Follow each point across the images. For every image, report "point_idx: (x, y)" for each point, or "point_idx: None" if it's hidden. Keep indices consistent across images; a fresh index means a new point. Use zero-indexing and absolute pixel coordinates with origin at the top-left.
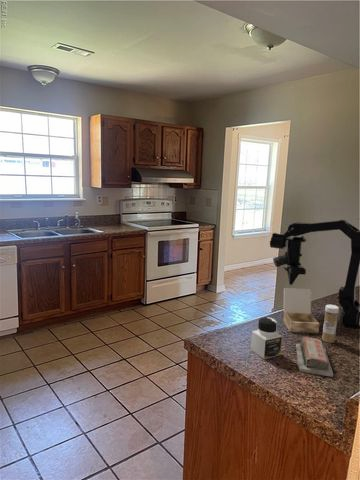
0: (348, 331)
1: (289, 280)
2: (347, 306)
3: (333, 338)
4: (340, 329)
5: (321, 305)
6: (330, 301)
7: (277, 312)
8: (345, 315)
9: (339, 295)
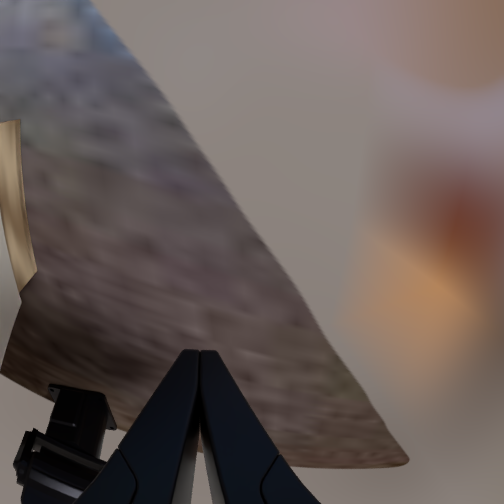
0: (21, 374)
1: (162, 402)
2: (17, 453)
3: None
4: (24, 360)
5: (301, 398)
6: (341, 426)
7: (168, 109)
8: (49, 422)
9: (26, 485)
